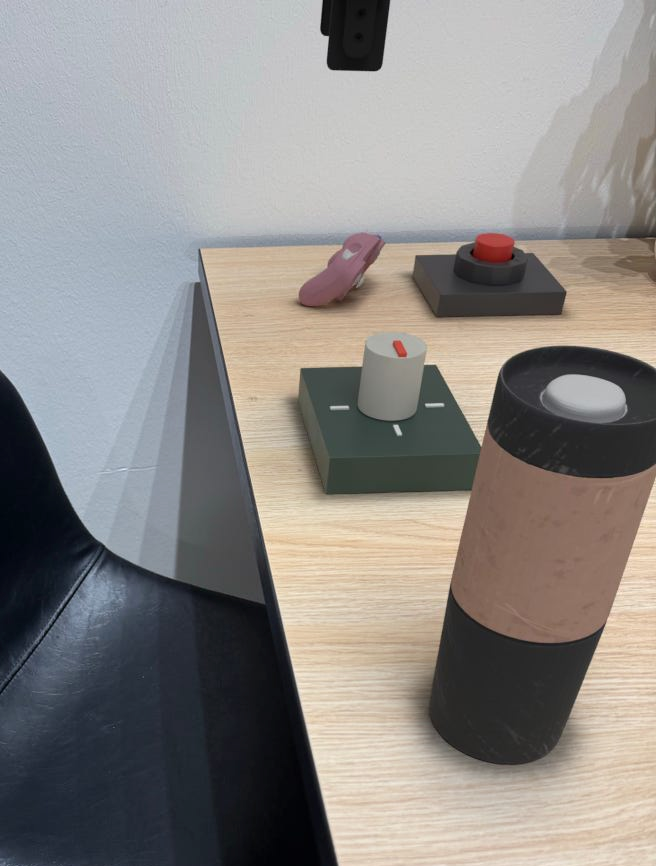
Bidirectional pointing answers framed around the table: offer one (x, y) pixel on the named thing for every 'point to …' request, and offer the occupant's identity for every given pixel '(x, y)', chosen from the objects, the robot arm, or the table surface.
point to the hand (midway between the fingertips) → (348, 51)
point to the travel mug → (543, 546)
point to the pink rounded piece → (343, 270)
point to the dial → (391, 375)
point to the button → (493, 247)
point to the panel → (386, 437)
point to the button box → (487, 285)
